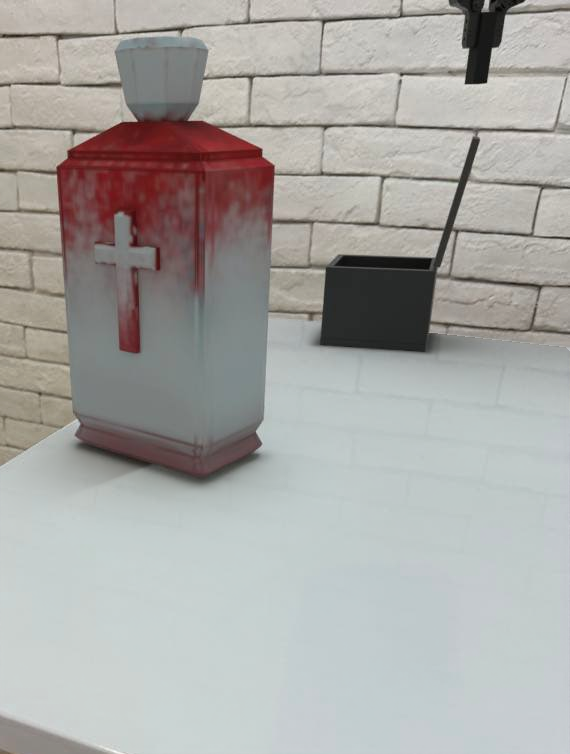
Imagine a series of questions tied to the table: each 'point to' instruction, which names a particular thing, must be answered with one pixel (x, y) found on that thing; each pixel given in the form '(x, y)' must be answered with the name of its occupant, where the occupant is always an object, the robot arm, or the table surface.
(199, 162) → the bottle
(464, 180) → the lid
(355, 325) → the black storage bin
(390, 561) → the table surface
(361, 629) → the table surface
